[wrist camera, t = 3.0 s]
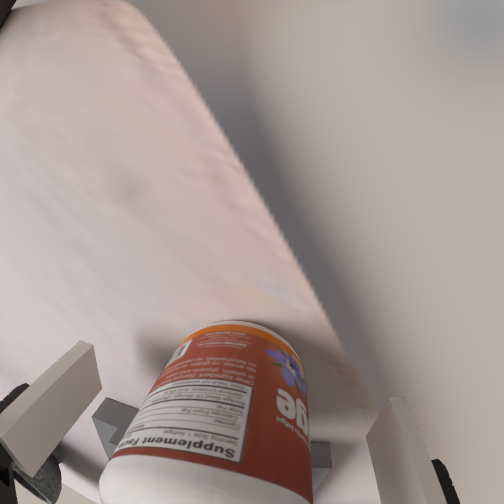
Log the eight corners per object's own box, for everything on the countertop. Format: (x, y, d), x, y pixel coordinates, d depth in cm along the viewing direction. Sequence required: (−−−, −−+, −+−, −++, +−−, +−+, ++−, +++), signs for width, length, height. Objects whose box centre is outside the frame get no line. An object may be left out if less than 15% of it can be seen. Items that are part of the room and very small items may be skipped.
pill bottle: (304, 412, 13) (305, 610, 2) (191, 411, 14) (125, 582, 3) (303, 310, 11) (327, 618, 1) (163, 315, 12) (8, 520, 1)
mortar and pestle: (92, 476, 19) (53, 546, 7) (41, 452, 20) (1, 507, 9) (41, 408, 16) (-26, 486, 5) (-4, 386, 18) (-62, 441, 6)
